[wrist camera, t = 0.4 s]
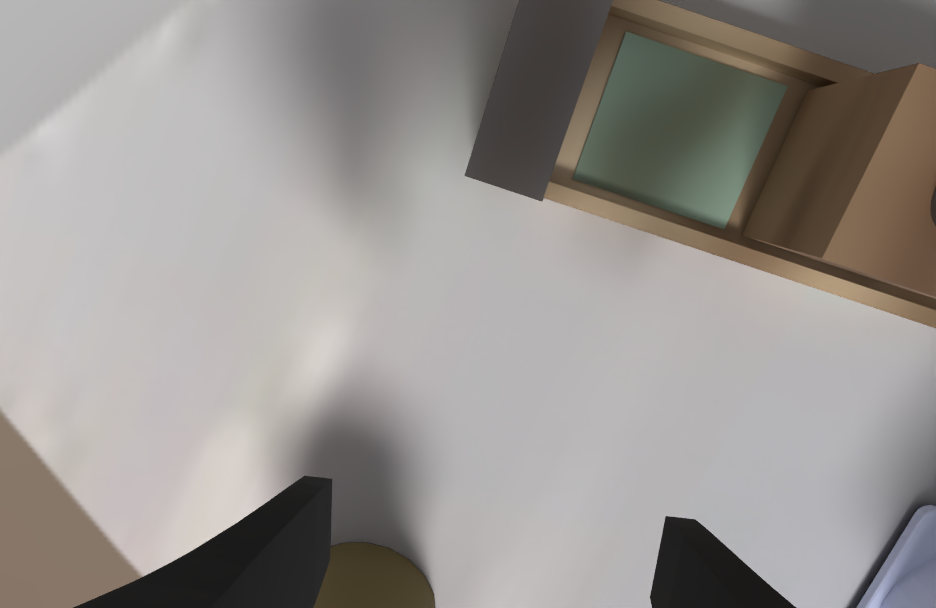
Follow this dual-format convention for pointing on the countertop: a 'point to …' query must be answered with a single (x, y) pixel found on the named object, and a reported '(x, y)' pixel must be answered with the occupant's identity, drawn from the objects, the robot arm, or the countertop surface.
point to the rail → (659, 128)
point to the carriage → (859, 180)
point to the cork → (372, 579)
